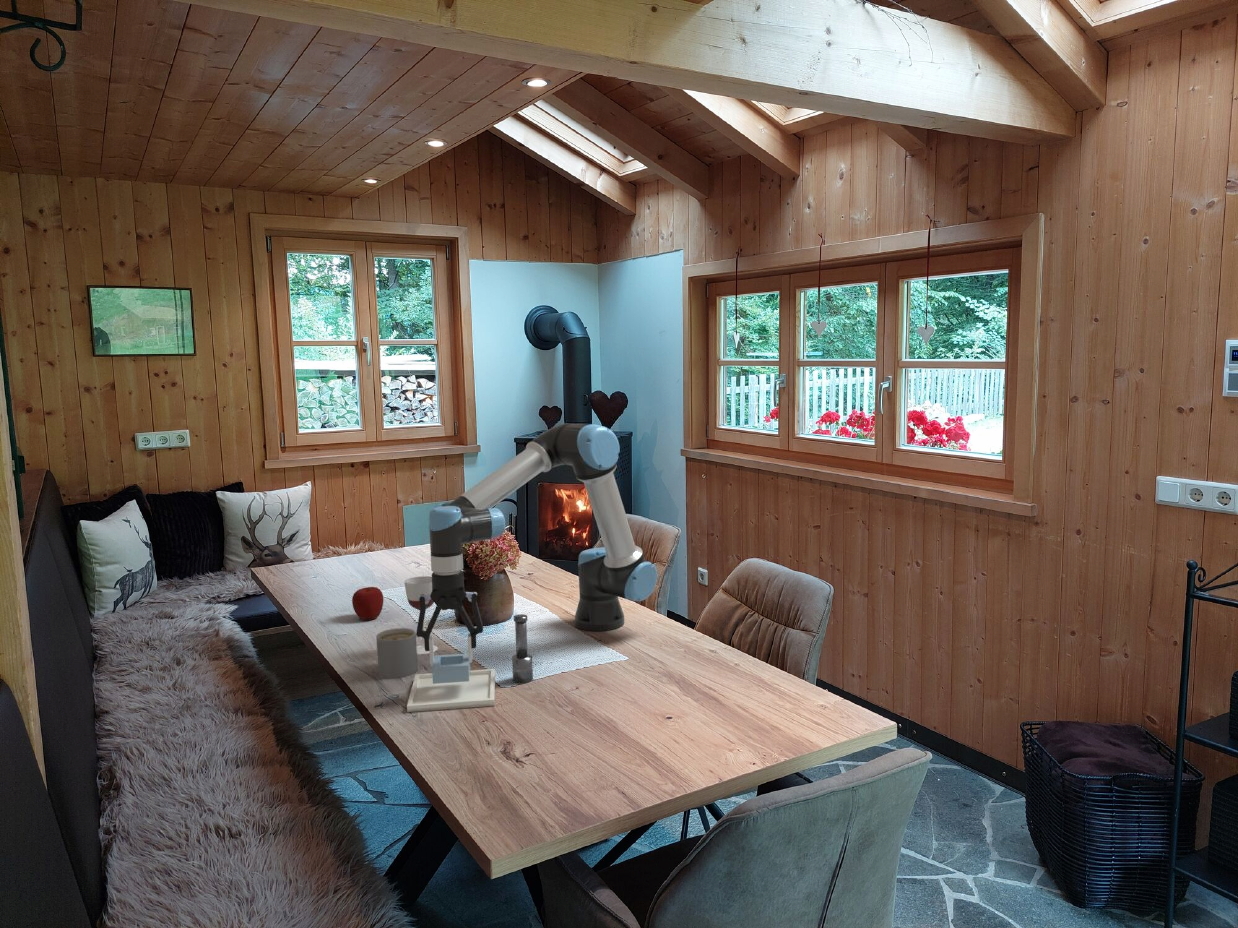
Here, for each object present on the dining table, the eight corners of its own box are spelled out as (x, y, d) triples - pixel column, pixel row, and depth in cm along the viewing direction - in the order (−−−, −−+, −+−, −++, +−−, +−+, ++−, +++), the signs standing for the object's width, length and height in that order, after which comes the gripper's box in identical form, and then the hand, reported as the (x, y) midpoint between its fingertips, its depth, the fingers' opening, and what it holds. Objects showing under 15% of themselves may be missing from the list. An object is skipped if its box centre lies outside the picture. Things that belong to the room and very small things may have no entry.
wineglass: (432, 655, 236) (429, 584, 233) (403, 653, 238) (399, 583, 235) (444, 645, 244) (440, 576, 241) (415, 643, 245) (412, 575, 243)
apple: (346, 621, 268) (344, 590, 267) (366, 612, 277) (364, 582, 275) (371, 624, 264) (369, 592, 263) (390, 615, 273) (389, 584, 272)
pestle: (532, 675, 219) (530, 612, 217) (533, 682, 214) (530, 618, 212) (512, 676, 219) (510, 614, 217) (513, 683, 214) (510, 620, 212)
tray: (495, 674, 221) (495, 668, 220) (494, 705, 201) (494, 699, 201) (415, 679, 218) (415, 674, 218) (407, 712, 198) (406, 705, 198)
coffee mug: (423, 672, 223) (421, 635, 222) (385, 680, 218) (383, 643, 217) (406, 657, 234) (404, 622, 233) (369, 665, 229) (367, 629, 228)
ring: (469, 681, 205) (468, 665, 205) (432, 683, 204) (432, 667, 204) (470, 668, 214) (469, 653, 213) (435, 670, 212) (434, 655, 212)
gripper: (492, 565, 211) (495, 654, 213) (403, 569, 208) (408, 659, 211) (491, 572, 203) (495, 664, 206) (400, 577, 201) (404, 670, 203)
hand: (451, 661), depth 208 cm, fingers closed on ring, 8 cm apart
